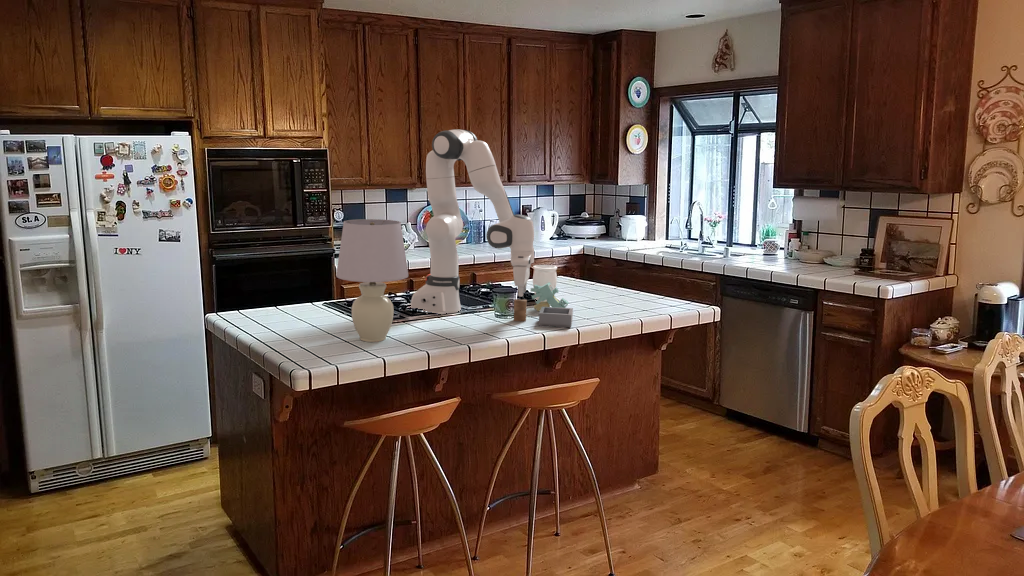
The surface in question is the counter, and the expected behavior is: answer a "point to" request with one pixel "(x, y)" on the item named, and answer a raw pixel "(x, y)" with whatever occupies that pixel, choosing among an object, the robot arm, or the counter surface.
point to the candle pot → (555, 317)
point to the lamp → (372, 271)
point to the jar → (544, 276)
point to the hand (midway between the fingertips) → (522, 293)
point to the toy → (547, 297)
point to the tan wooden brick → (520, 310)
